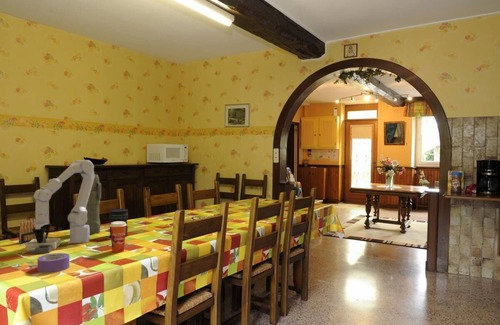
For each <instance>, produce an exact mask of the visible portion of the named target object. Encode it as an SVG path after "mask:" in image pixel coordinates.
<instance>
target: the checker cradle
mask: <svg viewBox="0 0 500 325" xmlns="http://www.w3.org/2000/svg"><path fill="white" fill-rule="evenodd" d="M52 251H53V249H52V245H39V246H38V247H31V248H30V249H29V250H27V254H28V255H34V254H50V253H51V252H52Z"/></svg>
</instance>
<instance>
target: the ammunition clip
mask: <svg viewBox="0 0 500 325" xmlns="http://www.w3.org/2000/svg"><path fill="white" fill-rule="evenodd" d="M34 222H36V218H33V219H32V218H31V219H30V220H29V219H27V220H25V219H24V220H23V221H22V220H20V224H19V225H20V226H19V234H18V244H20V245H22V244H27V243H28V242H30V241H31V240H32V239H36V236H35V234H34V232H33V230H32V229H33V228H35V224H33V223H34Z"/></svg>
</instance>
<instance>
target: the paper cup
mask: <svg viewBox="0 0 500 325" xmlns="http://www.w3.org/2000/svg"><path fill="white" fill-rule="evenodd" d="M126 225H127V226H128V223H127V224H126V223H125V222H123V221H117V222H112V223H111V225H110V224H109V227H110V226H111V237H110V239H111V251H112V252H113V253H123V252H124V251H125V247H126V246H125V245H126V244H125V243H126V237H125V232H126Z"/></svg>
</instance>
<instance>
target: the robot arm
mask: <svg viewBox="0 0 500 325" xmlns="http://www.w3.org/2000/svg"><path fill="white" fill-rule="evenodd" d="M94 168H95V165H94V164H93V162H92V161H91V160H89V159H76V160H74V162H72V163H71V164H70V165H69V167H67V168H66V169H65V170H63V172H62V173H61V174H59V176H57V178H50V179H49V180H48V181H47V183H46V184H45V185H43V186H41V187H40V189H36V190H35V192H34V194H33V199H34V200H35V222H34V223H33V222H32V225H33V224H35V228H33V229H32V230H33V232H34V234H35V236H36V240H37V243H42V242H43V237H44V232H46V239H48V236H49V231H50V229H51V227H52V223H50V206H49V205H50V204H49V202H50V200H51V198H52V195H54V194H55V193H56V192H57V191H58V190H60V188H62V186H63V183H64V182H65V181H67V179H69V178H70V177H71V176H73V175H74V174H78V173H79V174H80V175H81V177H82V182H81V184H80V188H79V192H78V195H77V198H76V201H75V206H74V207H73V208H72V209H71V210H70V213H69V214H68V215H67V221H68V222H69V241H68V242H67V244H83V243H88V242H89V241H90V237H91V234H90V228H89V225H85V223H86V222H87V213H88V212H87V210H86V206H87V202H88V199H89V195H90V192H91V188H92V185H93V181H94V178H95V175H94V174H95V171H94V170H95V169H94Z"/></svg>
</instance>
